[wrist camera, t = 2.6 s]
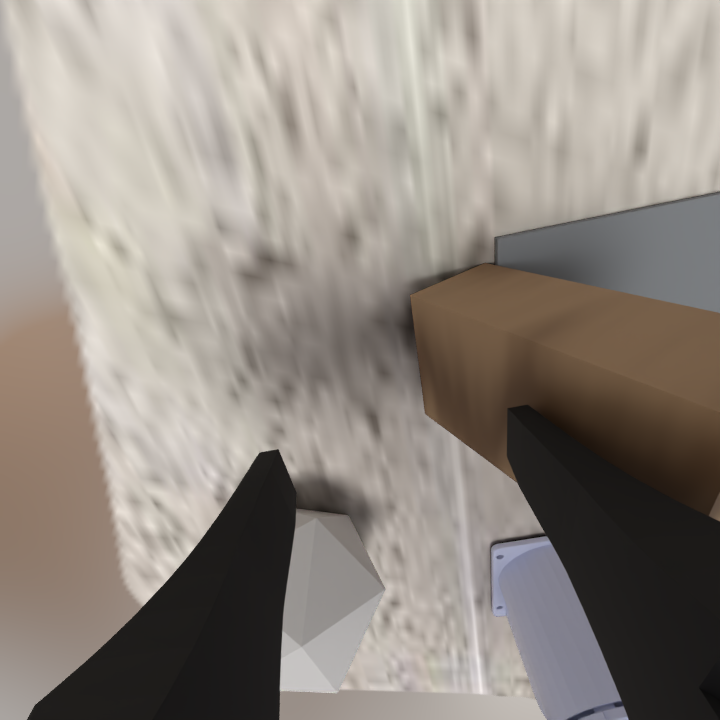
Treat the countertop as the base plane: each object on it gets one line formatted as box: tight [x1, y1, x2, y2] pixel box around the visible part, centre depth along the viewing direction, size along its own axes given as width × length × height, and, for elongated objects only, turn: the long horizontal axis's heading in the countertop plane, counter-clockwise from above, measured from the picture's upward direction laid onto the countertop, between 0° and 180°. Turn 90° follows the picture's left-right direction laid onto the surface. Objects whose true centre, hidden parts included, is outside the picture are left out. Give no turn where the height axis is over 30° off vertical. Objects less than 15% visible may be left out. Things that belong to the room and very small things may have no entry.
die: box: [280, 509, 385, 693], centre depth 21 cm, size 8×9×10 cm
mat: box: [495, 192, 720, 313], centre depth 17 cm, size 9×11×1 cm
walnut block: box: [410, 263, 720, 521], centre depth 13 cm, size 6×4×10 cm, turn 11°
